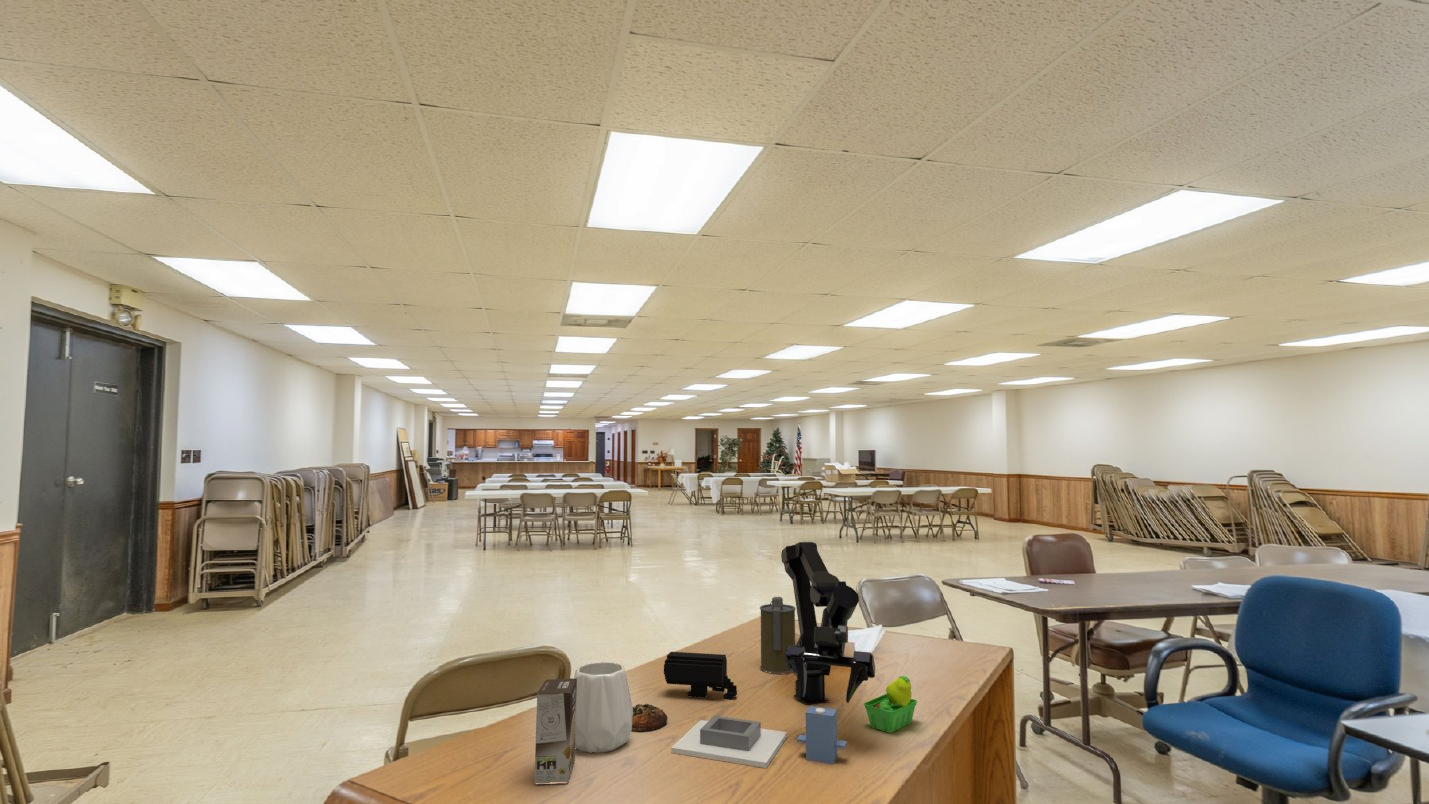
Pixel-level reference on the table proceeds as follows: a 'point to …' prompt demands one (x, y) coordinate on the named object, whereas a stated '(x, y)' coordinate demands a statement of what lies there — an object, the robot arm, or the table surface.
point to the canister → (776, 635)
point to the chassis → (731, 741)
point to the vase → (602, 707)
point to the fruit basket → (892, 707)
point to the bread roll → (648, 718)
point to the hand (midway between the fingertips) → (824, 698)
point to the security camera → (699, 673)
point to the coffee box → (555, 730)
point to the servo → (821, 735)
